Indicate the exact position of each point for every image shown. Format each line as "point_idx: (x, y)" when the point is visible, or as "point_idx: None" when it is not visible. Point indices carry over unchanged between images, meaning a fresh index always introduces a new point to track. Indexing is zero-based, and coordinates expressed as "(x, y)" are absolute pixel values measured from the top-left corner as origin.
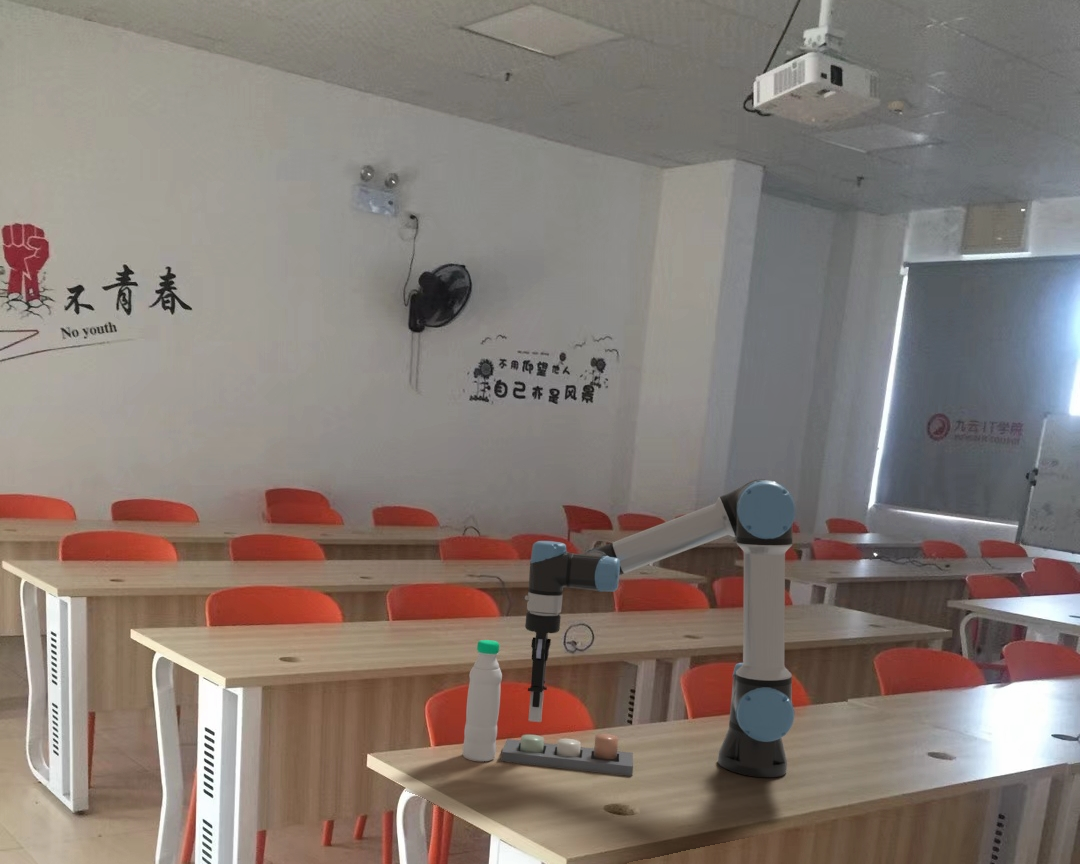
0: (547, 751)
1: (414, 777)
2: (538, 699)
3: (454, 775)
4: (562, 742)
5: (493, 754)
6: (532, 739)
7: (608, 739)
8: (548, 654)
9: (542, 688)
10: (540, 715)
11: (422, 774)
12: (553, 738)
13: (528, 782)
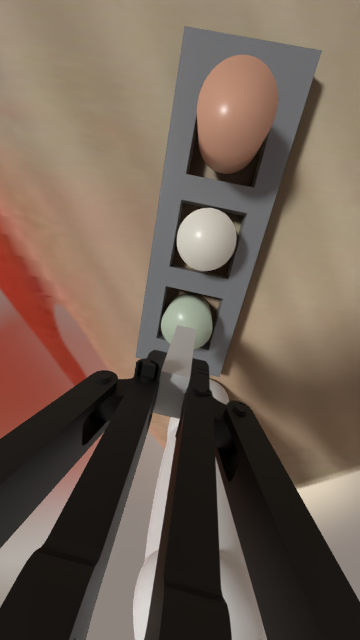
0: (205, 289)
1: (300, 483)
2: (208, 380)
3: (293, 439)
4: (212, 260)
5: (218, 386)
6: (198, 329)
7: (266, 105)
8: (4, 603)
9: (246, 412)
10: (194, 338)
11: (288, 473)
12: (52, 249)
13: (336, 339)
